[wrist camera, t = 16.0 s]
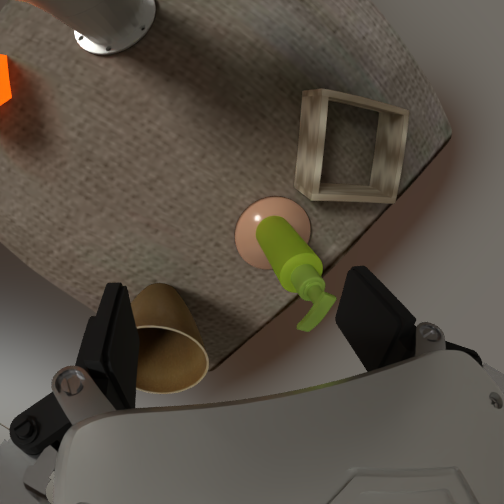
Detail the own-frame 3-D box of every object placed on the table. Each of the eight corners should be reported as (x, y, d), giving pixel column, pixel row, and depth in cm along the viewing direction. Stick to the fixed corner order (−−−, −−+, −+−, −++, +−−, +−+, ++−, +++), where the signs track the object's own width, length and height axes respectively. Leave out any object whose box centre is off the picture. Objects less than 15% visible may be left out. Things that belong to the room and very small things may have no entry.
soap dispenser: (245, 245, 47) (283, 328, 29) (267, 209, 45) (320, 277, 27) (275, 257, 49) (322, 338, 32) (296, 224, 47) (357, 293, 30)
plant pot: (214, 309, 53) (226, 375, 39) (150, 337, 53) (147, 402, 39) (174, 248, 45) (172, 310, 32) (105, 284, 46) (84, 349, 32)
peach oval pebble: (235, 196, 44) (237, 198, 43) (312, 196, 46) (315, 198, 45) (233, 268, 50) (234, 271, 49) (302, 263, 52) (304, 266, 51)
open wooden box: (302, 90, 38) (322, 88, 32) (383, 108, 41) (409, 110, 35) (293, 187, 45) (311, 200, 39) (372, 191, 49) (395, 203, 42)
